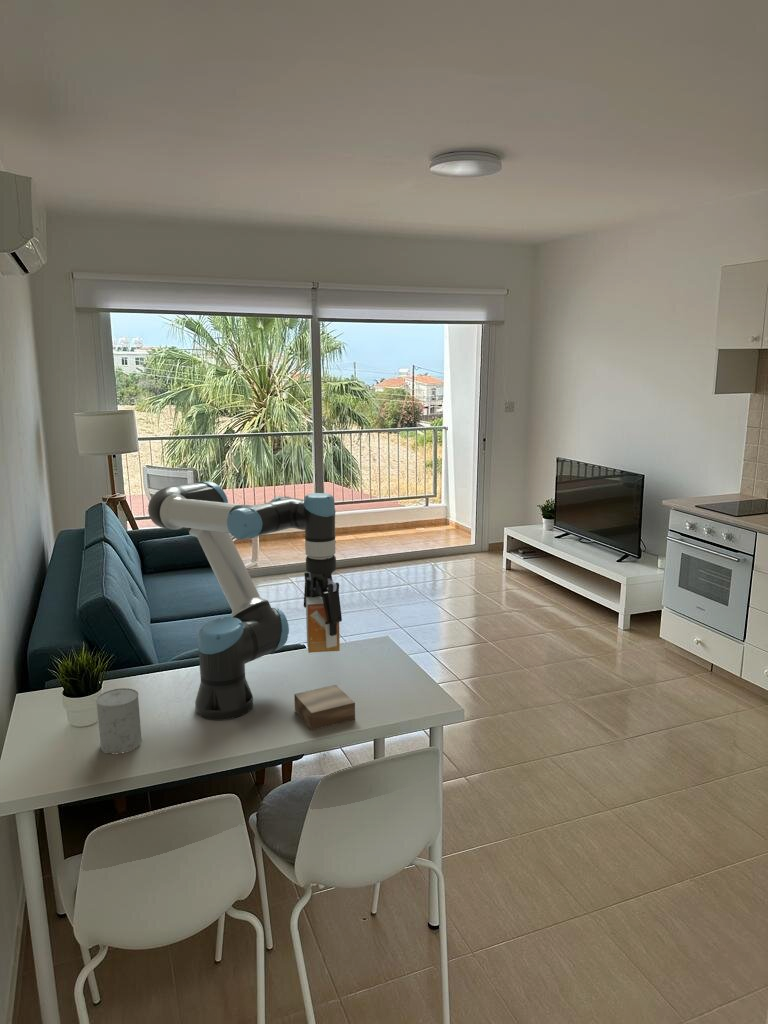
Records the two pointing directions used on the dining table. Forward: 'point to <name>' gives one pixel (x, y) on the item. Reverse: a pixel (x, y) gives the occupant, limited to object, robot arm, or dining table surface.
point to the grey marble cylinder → (119, 720)
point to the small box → (318, 626)
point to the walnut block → (324, 707)
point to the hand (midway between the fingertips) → (322, 641)
